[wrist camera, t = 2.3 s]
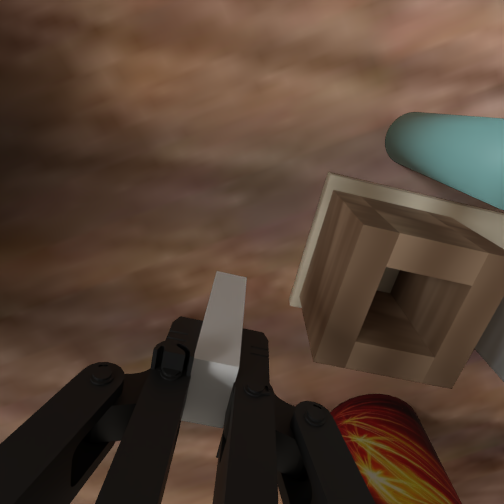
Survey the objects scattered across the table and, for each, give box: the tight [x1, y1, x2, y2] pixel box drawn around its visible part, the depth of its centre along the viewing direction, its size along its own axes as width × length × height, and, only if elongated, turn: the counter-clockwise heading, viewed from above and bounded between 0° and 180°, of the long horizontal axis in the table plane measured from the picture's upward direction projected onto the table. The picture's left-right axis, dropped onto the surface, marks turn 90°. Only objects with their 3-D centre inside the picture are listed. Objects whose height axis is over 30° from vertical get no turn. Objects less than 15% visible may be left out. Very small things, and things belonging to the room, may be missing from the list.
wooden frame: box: [289, 172, 504, 382], centre depth 27 cm, size 18×11×6 cm, turn 77°
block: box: [299, 190, 504, 389], centre depth 25 cm, size 9×9×8 cm
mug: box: [330, 394, 462, 504], centre depth 31 cm, size 10×14×12 cm
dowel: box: [385, 112, 504, 210], centre depth 20 cm, size 4×4×12 cm
